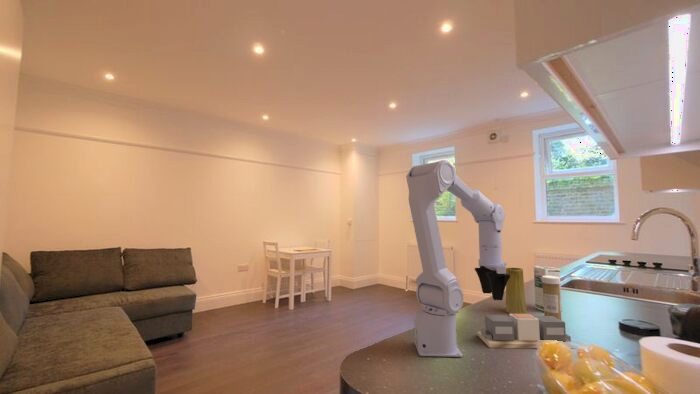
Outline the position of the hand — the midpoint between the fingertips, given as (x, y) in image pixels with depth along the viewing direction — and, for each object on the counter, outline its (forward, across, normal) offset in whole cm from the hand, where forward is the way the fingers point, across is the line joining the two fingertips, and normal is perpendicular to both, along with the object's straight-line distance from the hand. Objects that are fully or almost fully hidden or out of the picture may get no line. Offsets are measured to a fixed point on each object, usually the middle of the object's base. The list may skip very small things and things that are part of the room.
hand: (492, 296), depth 85 cm
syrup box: (+10, +22, -26) cm, 36 cm away
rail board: (+9, -7, -5) cm, 13 cm away
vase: (+10, +19, -14) cm, 26 cm away
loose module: (+8, -7, -5) cm, 12 cm away
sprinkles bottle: (+10, +9, -21) cm, 25 cm away
